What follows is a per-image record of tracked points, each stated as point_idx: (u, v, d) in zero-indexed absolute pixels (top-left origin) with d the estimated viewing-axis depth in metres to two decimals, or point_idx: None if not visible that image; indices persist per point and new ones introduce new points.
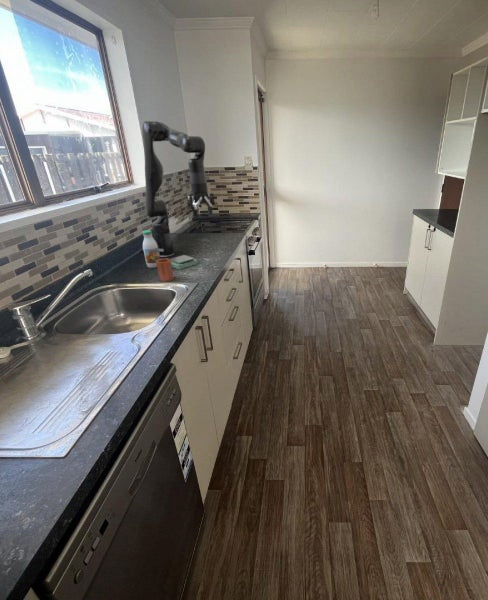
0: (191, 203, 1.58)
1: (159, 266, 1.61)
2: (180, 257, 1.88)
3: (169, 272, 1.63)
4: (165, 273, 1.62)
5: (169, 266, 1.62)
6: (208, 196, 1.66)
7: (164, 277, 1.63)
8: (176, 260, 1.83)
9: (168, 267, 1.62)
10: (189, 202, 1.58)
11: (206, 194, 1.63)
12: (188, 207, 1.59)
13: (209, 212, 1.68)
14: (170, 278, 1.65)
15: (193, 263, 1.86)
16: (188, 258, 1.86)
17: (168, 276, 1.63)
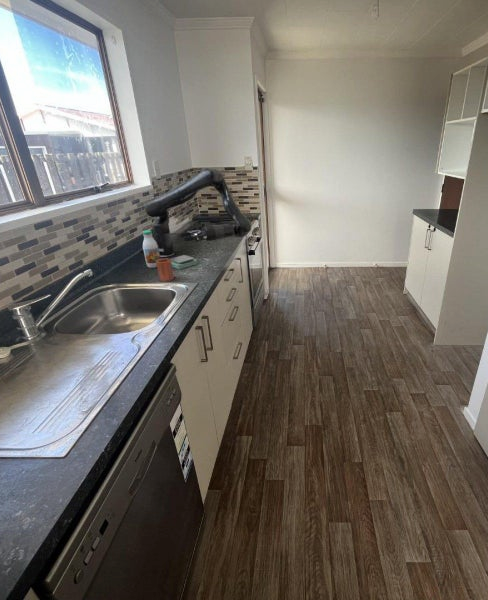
0: None
1: (159, 266, 1.61)
2: (180, 257, 1.88)
3: (169, 272, 1.63)
4: (165, 273, 1.62)
5: (169, 266, 1.62)
6: None
7: (164, 277, 1.63)
8: (176, 260, 1.83)
9: (168, 267, 1.62)
10: (201, 238, 1.62)
11: None
12: (195, 236, 1.60)
13: (182, 235, 1.67)
14: (170, 278, 1.65)
15: (193, 263, 1.86)
16: (188, 258, 1.86)
17: (168, 276, 1.63)
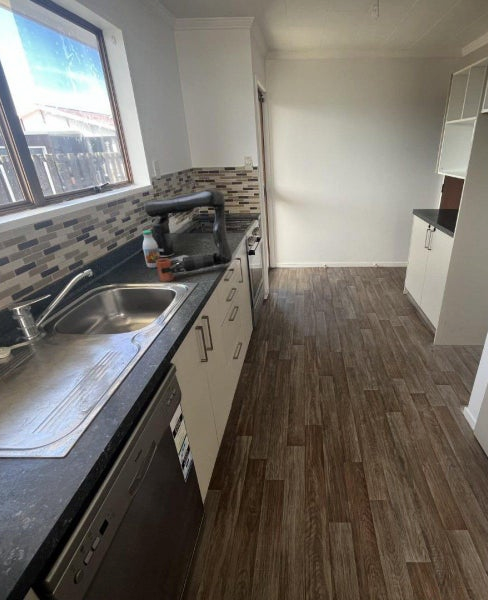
0: None
1: (159, 266, 1.61)
2: (180, 257, 1.88)
3: (169, 272, 1.63)
4: (165, 273, 1.62)
5: (169, 266, 1.62)
6: None
7: (164, 277, 1.63)
8: None
9: (168, 267, 1.62)
10: (178, 270, 1.62)
11: None
12: (172, 269, 1.60)
13: None
14: (170, 278, 1.65)
15: None
16: None
17: (168, 276, 1.63)
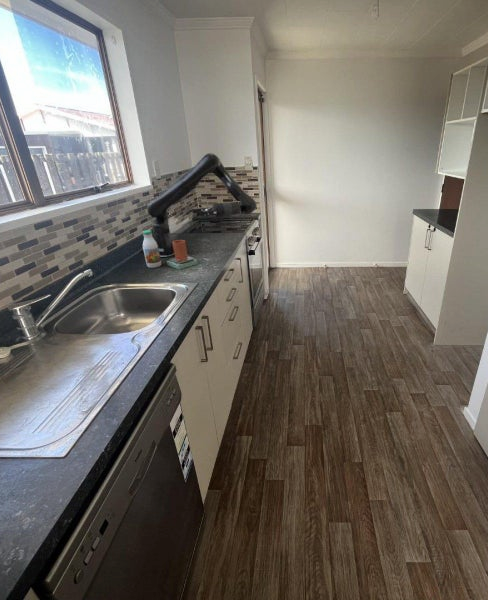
0: (210, 215, 1.79)
1: (175, 246, 1.80)
2: None
3: (184, 252, 1.82)
4: (180, 253, 1.81)
5: (184, 246, 1.82)
6: None
7: (179, 257, 1.82)
8: (176, 260, 1.83)
9: (183, 247, 1.81)
10: (211, 213, 1.79)
11: None
12: (206, 211, 1.77)
13: (194, 211, 1.84)
14: (184, 257, 1.84)
15: (193, 263, 1.86)
16: (188, 258, 1.86)
17: (183, 255, 1.83)
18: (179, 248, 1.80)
